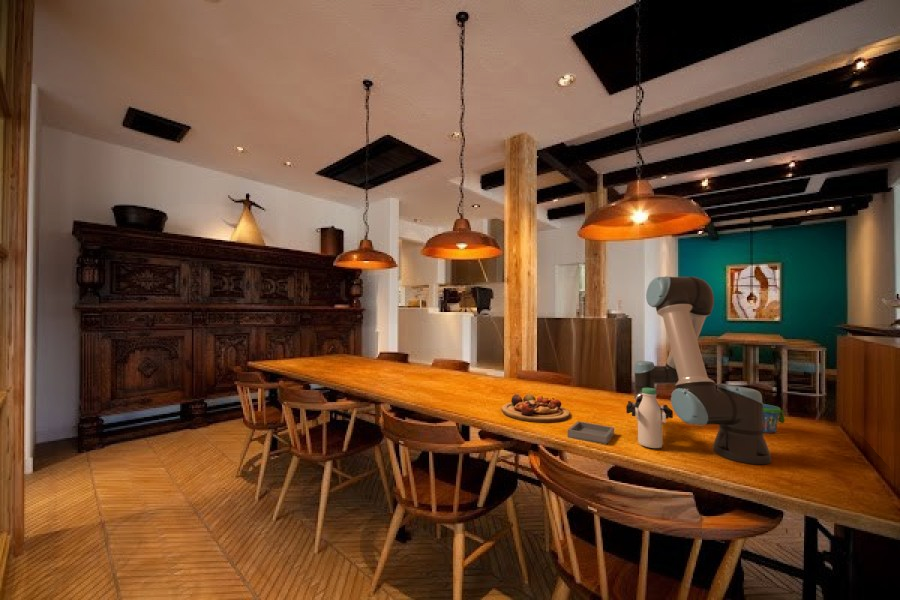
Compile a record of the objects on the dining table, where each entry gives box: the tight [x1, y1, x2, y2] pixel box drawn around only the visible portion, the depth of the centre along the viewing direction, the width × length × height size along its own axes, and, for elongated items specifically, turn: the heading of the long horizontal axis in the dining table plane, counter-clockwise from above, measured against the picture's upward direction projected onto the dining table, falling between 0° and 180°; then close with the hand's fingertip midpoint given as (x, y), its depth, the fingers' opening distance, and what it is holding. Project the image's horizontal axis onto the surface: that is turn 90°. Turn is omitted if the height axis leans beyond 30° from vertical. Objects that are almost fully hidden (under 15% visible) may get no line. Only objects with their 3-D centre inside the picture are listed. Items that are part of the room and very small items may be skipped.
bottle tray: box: [567, 421, 615, 446], centre depth 139 cm, size 14×14×3 cm
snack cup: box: [763, 403, 786, 434], centre depth 148 cm, size 16×10×10 cm
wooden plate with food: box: [500, 393, 571, 423], centre depth 171 cm, size 32×32×8 cm
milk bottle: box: [637, 388, 664, 449], centre depth 129 cm, size 8×8×20 cm
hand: (650, 417), depth 125 cm, fingers closed on milk bottle, 8 cm apart
